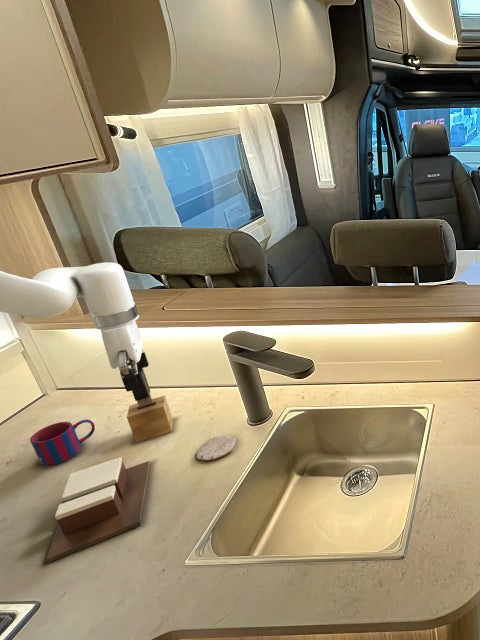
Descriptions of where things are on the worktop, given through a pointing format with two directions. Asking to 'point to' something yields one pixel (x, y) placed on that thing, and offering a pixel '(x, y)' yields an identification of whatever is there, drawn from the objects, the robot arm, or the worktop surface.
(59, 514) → the cake slice
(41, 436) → the mug
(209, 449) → the flatbread
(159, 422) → the knife block
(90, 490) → the cake
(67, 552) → the cake board
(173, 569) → the worktop surface
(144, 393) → the knife
